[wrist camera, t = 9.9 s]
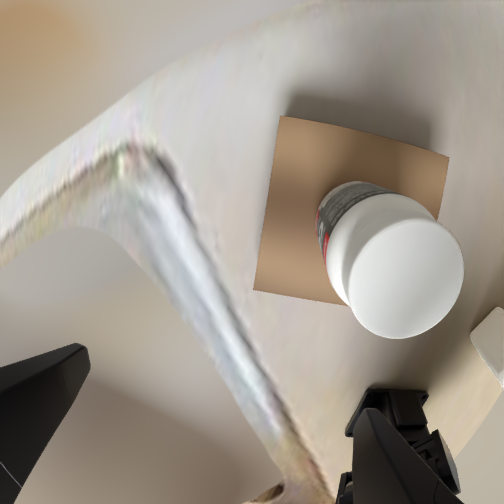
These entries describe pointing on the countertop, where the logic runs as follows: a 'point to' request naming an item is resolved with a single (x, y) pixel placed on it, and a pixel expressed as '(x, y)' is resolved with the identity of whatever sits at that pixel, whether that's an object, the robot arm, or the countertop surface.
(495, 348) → the pepper shaker
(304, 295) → the brown square block
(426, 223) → the pill bottle
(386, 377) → the countertop surface
